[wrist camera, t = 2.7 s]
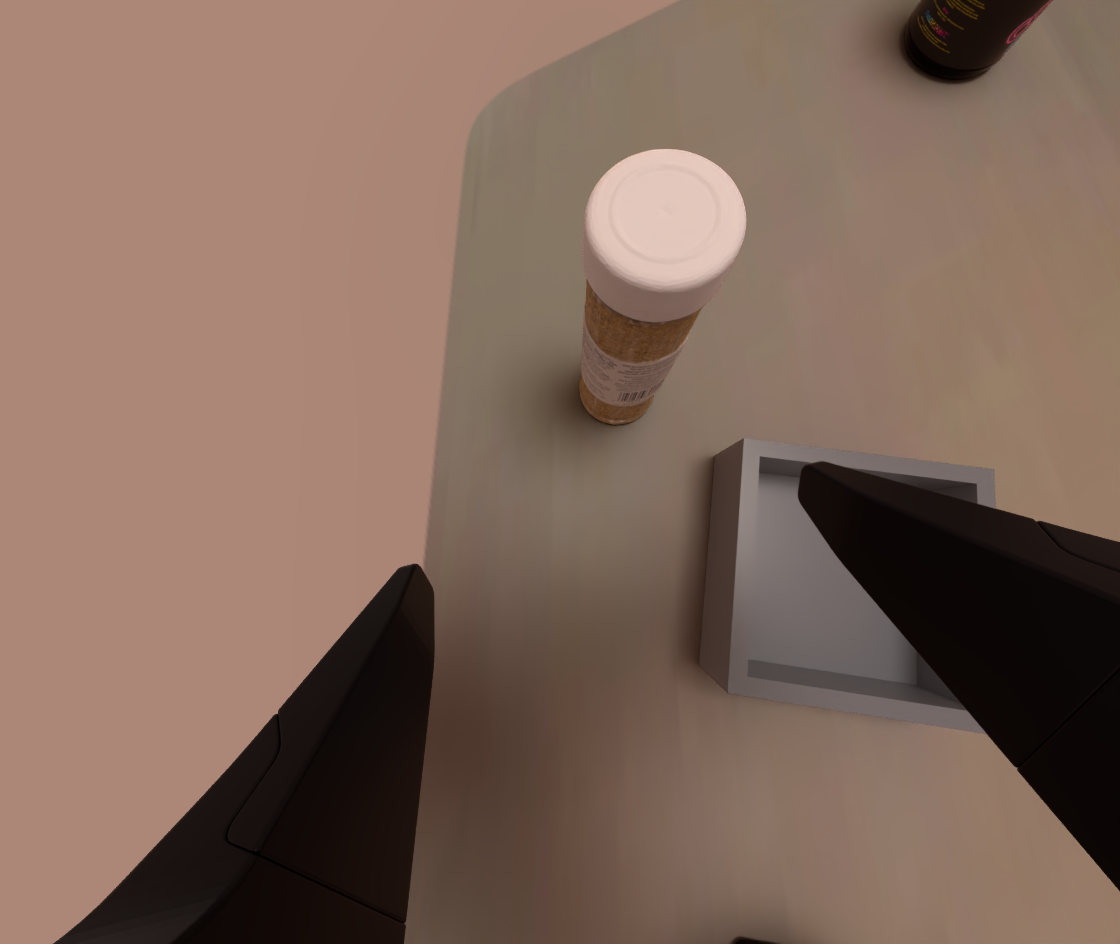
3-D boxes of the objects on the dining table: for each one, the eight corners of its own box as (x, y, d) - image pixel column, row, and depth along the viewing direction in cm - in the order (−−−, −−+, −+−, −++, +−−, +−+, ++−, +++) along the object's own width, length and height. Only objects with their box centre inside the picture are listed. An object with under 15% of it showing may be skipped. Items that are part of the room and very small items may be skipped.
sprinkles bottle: (648, 352, 24) (738, 131, 11) (657, 424, 24) (766, 277, 10) (574, 359, 25) (576, 147, 11) (581, 430, 24) (592, 293, 11)
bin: (920, 481, 23) (994, 469, 19) (923, 699, 21) (1005, 736, 17) (714, 455, 23) (743, 438, 19) (698, 665, 21) (727, 693, 17)
